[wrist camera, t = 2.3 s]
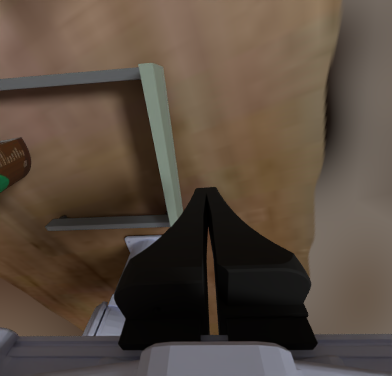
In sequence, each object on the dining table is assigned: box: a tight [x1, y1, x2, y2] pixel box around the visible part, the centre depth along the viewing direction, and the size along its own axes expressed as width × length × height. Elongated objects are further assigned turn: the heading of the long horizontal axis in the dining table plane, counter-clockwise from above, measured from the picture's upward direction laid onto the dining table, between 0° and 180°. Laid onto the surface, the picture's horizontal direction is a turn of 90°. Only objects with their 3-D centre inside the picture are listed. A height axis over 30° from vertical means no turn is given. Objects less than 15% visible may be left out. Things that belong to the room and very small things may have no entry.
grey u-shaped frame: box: [0, 63, 183, 231], centre depth 19 cm, size 18×19×5 cm
